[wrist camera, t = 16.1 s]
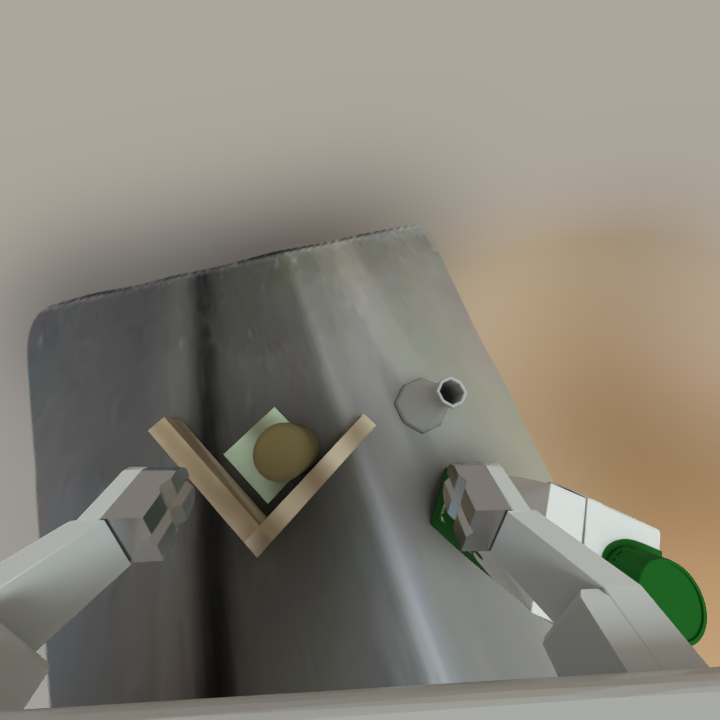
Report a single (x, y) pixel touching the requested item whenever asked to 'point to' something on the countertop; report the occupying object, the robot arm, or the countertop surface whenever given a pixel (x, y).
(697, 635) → the milk carton
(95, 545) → the robot arm
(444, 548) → the countertop surface
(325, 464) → the corner arena
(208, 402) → the countertop surface
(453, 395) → the flask
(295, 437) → the cork
